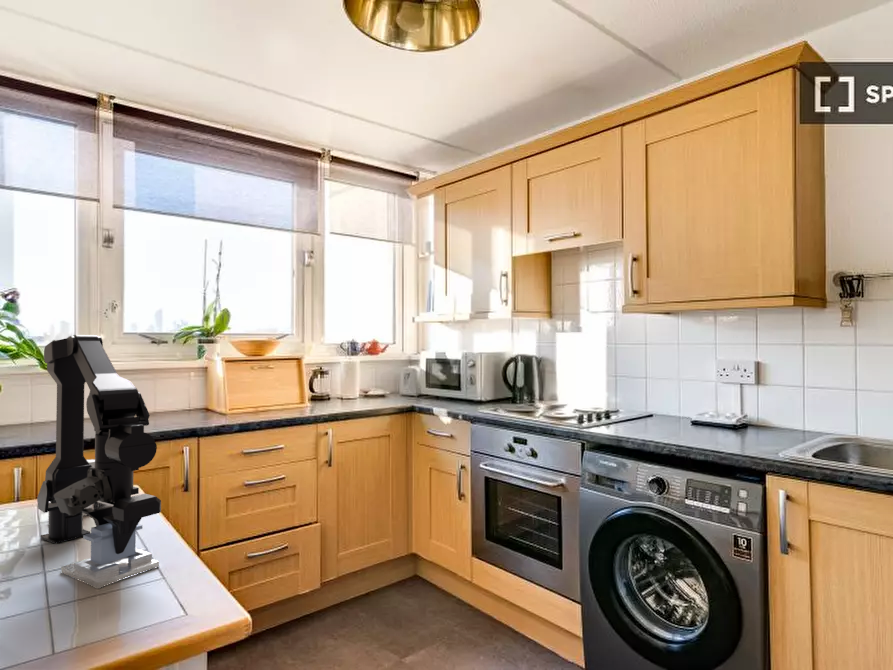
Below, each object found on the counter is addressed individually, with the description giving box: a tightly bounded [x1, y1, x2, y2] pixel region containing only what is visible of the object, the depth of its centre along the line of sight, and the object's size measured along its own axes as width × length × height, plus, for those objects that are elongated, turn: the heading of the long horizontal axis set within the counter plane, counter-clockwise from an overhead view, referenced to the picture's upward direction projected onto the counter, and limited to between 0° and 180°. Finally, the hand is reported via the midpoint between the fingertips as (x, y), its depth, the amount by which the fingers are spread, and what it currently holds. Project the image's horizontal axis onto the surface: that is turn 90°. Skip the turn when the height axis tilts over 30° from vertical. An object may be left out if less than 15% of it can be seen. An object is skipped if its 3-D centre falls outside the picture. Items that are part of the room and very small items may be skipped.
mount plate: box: [60, 547, 160, 589], centre depth 95 cm, size 12×10×2 cm
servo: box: [82, 523, 143, 565], centre depth 94 cm, size 8×3×6 cm, turn 148°
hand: (113, 551), depth 94 cm, fingers closed on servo, 3 cm apart
